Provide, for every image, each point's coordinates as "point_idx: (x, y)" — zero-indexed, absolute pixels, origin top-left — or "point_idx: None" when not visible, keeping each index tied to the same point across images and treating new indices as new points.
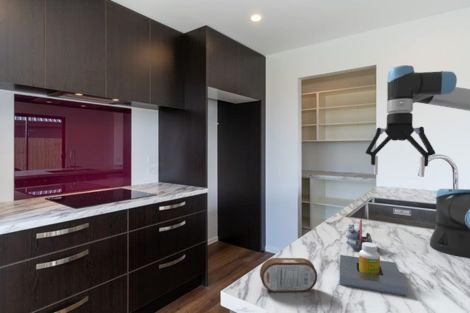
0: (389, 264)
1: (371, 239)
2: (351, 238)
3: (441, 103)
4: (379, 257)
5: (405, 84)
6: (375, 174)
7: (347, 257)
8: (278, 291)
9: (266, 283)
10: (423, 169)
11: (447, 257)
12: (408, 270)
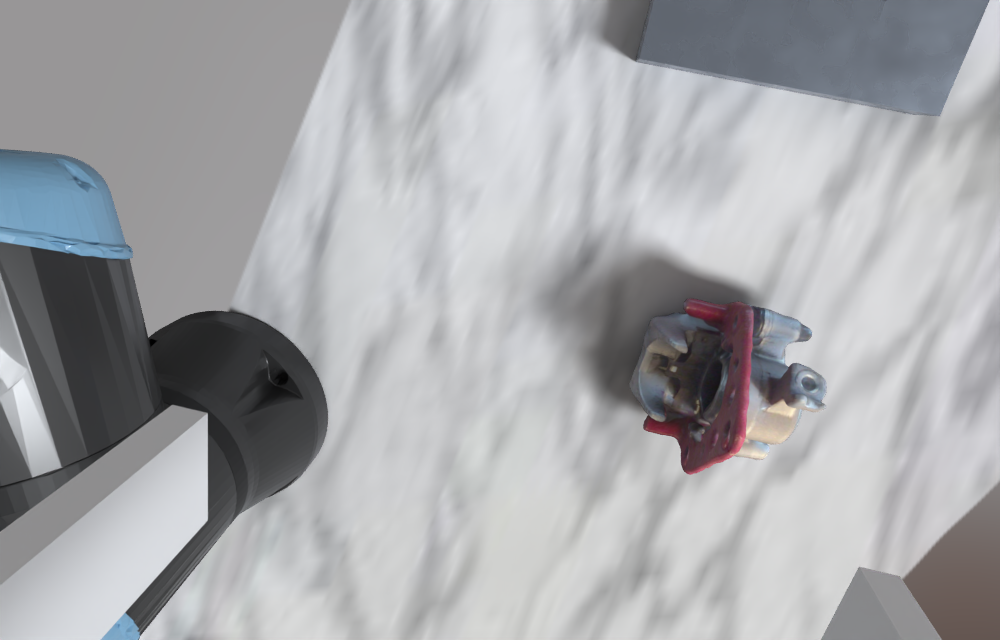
0: (688, 18)
1: (638, 390)
2: (775, 362)
3: None
4: None
5: None
6: (894, 580)
7: (909, 76)
8: None
9: None
10: (92, 475)
11: (306, 295)
12: (564, 81)
